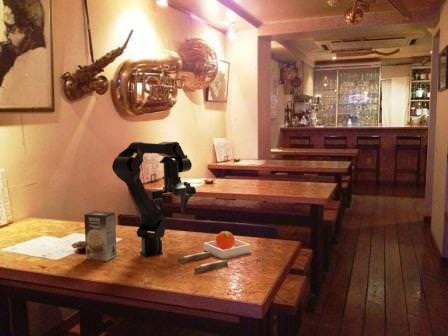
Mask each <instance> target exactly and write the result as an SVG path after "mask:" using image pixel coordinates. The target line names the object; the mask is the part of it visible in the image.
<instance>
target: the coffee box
mask: <svg viewBox="0 0 448 336" xmlns="http://www.w3.org/2000/svg"><path fill="white" fill-rule="evenodd" d="M83 219H84V241H85V259H86V260H94V261H103V262H104V261H105V262H108V261H110V260H111V259H114V258H116V257H117V256H118V255H117V253H118V252H117V227H116V226H117V225H116V212H113V211H101V210H93V211H90V212H88V213H85V214H83Z"/></svg>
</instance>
